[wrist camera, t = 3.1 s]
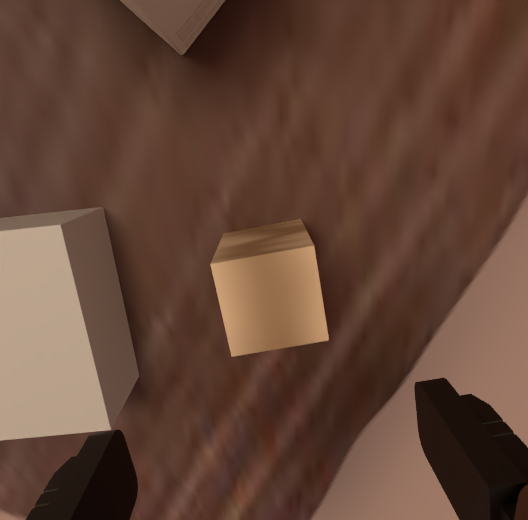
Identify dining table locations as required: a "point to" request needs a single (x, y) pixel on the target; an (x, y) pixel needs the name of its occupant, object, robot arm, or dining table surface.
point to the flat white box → (61, 326)
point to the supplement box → (175, 18)
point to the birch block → (269, 288)
